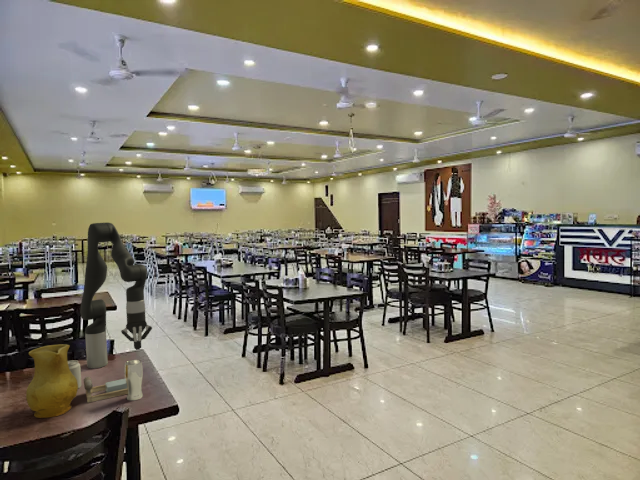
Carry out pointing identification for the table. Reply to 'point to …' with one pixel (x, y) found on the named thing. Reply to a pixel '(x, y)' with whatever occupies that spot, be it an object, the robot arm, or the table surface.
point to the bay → (92, 389)
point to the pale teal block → (115, 385)
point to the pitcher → (51, 382)
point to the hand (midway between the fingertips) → (137, 349)
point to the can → (75, 370)
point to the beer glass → (133, 379)
